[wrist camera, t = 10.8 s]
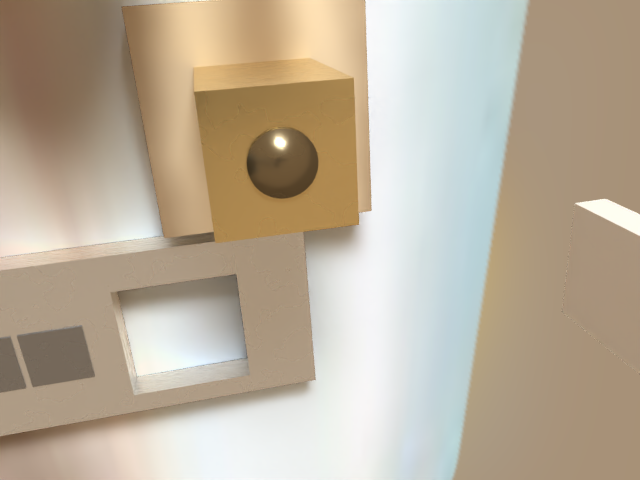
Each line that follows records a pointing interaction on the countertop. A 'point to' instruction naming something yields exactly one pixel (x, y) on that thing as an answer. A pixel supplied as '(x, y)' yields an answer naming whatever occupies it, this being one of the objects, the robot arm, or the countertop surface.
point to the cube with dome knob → (277, 147)
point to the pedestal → (221, 49)
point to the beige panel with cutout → (111, 336)
